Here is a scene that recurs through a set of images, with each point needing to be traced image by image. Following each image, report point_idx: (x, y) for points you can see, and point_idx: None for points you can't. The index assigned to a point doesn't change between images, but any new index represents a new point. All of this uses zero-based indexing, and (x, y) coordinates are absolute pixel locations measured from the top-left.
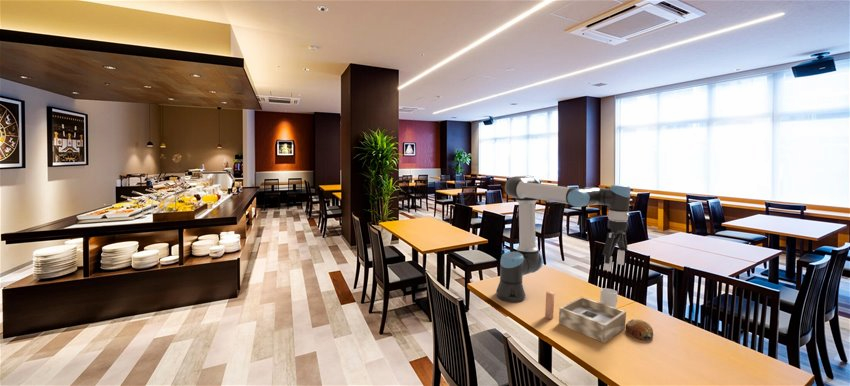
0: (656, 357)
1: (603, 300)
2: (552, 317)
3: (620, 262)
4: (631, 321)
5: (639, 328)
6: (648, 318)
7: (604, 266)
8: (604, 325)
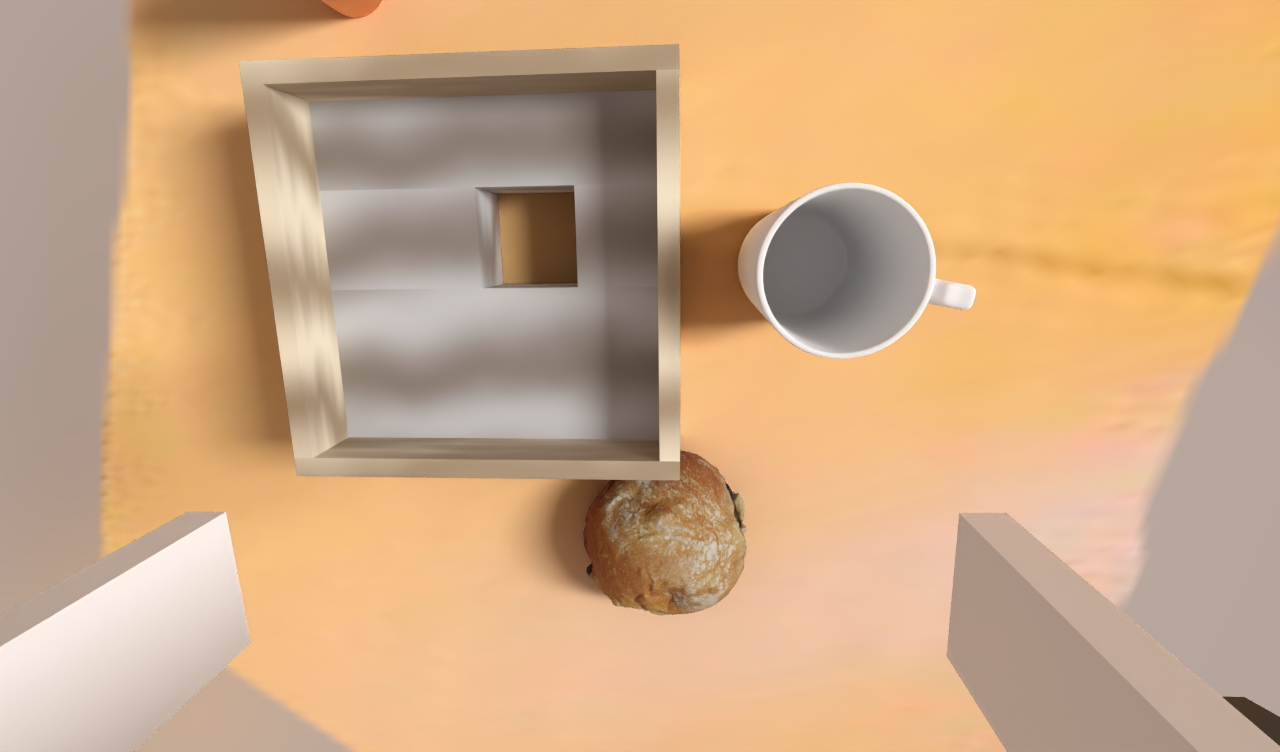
0: (472, 660)
1: (751, 252)
2: (347, 12)
3: (976, 629)
4: (644, 512)
5: (600, 572)
6: (985, 485)
7: (114, 564)
8: (296, 466)
